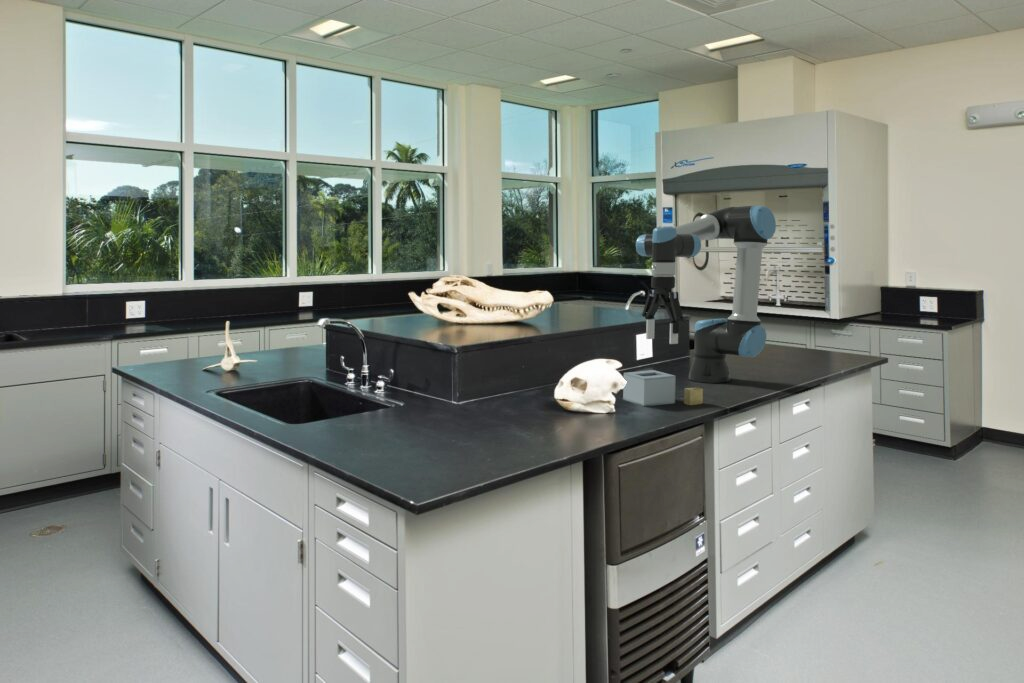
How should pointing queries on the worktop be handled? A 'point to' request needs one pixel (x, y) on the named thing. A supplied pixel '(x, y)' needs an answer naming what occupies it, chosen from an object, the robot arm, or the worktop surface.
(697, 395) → the block
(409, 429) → the worktop surface
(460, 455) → the worktop surface
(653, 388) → the grey square hollow box
